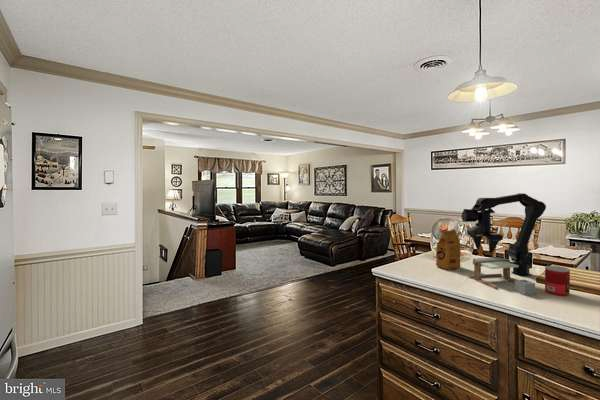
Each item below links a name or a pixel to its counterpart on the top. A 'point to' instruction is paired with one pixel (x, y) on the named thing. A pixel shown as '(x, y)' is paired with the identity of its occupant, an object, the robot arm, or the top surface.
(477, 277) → the frame
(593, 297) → the top surface
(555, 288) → the canned food
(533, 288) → the stone
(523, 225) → the robot arm
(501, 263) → the trapdoor
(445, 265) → the coffee package
